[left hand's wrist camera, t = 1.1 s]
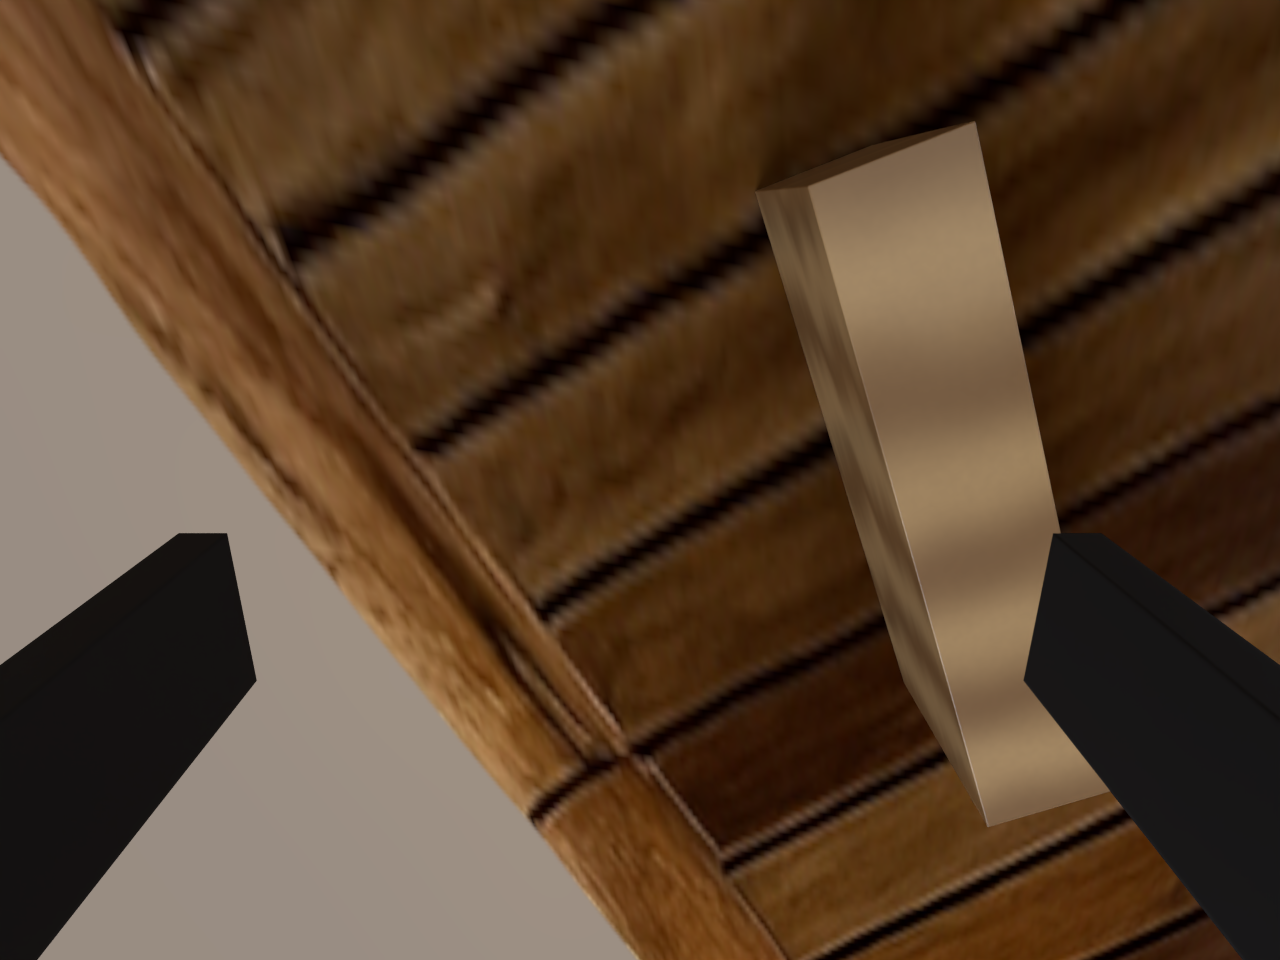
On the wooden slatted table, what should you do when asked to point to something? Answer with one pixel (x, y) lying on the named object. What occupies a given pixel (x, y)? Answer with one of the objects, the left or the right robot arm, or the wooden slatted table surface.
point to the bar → (934, 442)
